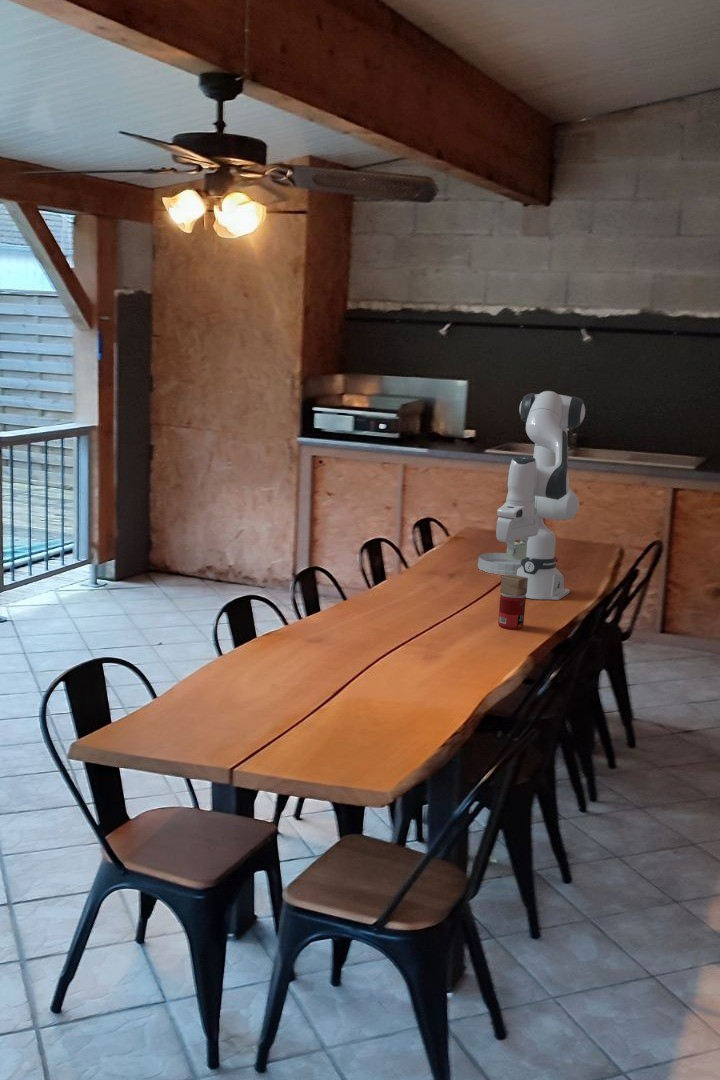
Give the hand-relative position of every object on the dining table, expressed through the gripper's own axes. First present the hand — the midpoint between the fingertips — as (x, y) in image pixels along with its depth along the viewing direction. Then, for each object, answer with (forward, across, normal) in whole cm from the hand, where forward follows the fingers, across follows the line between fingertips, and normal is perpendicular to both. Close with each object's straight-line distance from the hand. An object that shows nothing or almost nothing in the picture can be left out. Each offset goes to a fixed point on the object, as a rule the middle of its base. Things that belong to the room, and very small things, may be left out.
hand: (516, 552), depth 331 cm
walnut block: (+13, 0, 0) cm, 13 cm away
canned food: (+24, 0, 0) cm, 24 cm away
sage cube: (+2, 0, 0) cm, 2 cm away
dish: (+24, -72, -45) cm, 88 cm away
